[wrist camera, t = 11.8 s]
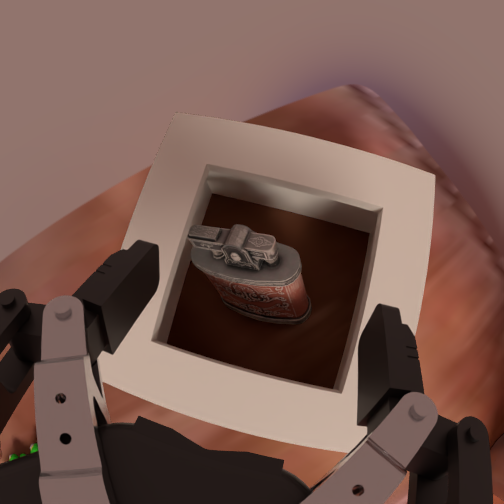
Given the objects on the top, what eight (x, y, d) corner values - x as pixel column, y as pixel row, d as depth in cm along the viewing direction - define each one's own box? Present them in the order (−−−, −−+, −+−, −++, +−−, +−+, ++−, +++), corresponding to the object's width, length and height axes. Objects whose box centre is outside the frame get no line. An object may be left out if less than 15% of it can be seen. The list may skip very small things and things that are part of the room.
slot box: (380, 226, 30) (435, 175, 18) (337, 408, 27) (377, 455, 15) (205, 182, 32) (175, 112, 20) (152, 357, 28) (87, 374, 17)
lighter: (316, 294, 27) (301, 219, 19) (305, 331, 25) (284, 268, 17) (232, 277, 30) (188, 206, 22) (218, 309, 28) (166, 246, 21)
